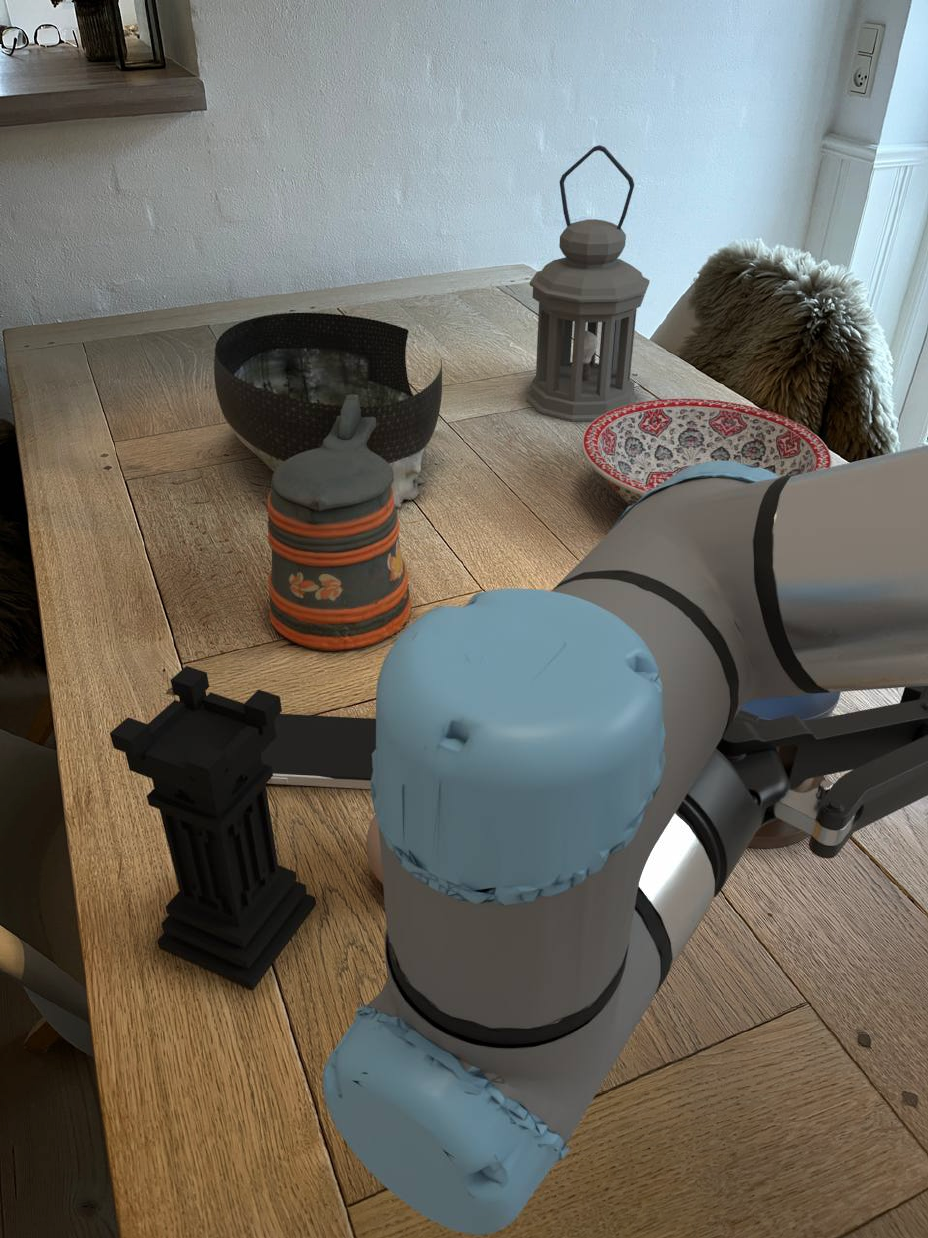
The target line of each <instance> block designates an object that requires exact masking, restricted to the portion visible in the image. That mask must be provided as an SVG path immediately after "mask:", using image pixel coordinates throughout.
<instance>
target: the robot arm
mask: <svg viewBox="0 0 928 1238" xmlns="http://www.w3.org/2000/svg"><path fill="white" fill-rule="evenodd" d="M898 688H899V689H900V688H904V689H903V692H902V694H901V698H900V701H899V702H897V703H894V704H889V705H888V704H887V705H883V706H878V707H872V708H868V709H862V710H857V711H852V712H846V713H841V714H836V715H832V716H831V717H826V718H820V719H815V720H810V721H805V722H803V721H801V720H800V718H799V717H797V716H789V717H783V718H778V719H773V720H768V721H763V722H758V721H759V717H758V716H756V715H753V714H751V713H748V712H745V711H742V710H740V709H741V708H742V706H743V705H744V704H745V703H746V702H749V701H752V700H756V699H765V698H778V697H794V696H803V695H809V694H815V693H831V692H841V693H844V692H857V691H859V692H860V691H872V690H885V689H898ZM375 692H376V693H375V719H376V749H375V751H374V752H373V753H372V767H373V773H372V778H371V782H370V785H371V789H370V796H371V800H372V807H373V813H374V815H375V814H376V819H377V824H378V827H379V839H380V850H381V862H382V875H383V884H382V886H383V899H384V900H383V901H384V912H385V914H384V915H385V928H386V929H385V934H384V935H385V936H384V937H385V938H384V955H385V966H386V969H385V970H386V980H385V983H384V985H383V986H382V988H381V991H379V992H378V994H377V995H376V996H375V997H374V998H373V999H372V1000H370V1002H369V1003H367V1004H364V1003H363V1004H362V1005H361V1006H360V1007H359V1009H357V1010H356V1012H355V1019H354V1020H353V1021H352V1023H351V1024H350V1026H349V1028H348V1029H347V1031H345V1033H344V1035H343V1036H342V1037H341V1039H340V1040H339V1042H338V1043H337V1045H336V1046H335V1048H333V1050H332V1051H331V1053H330V1054H329V1056H328V1058H327V1061H326V1063H325V1066H324V1067H323V1073H322V1093H323V1097H324V1102H325V1106H326V1108H327V1110H328V1113H329V1116H330V1118H331V1120H332V1122H333V1124H334V1125H335V1128H336V1129H337V1131H338V1132H339V1134H340V1136H341V1138H342V1139H343V1140H344V1142H345V1143H346V1145H347V1146H348V1147H349V1148H350V1150H351V1152H353V1154H354V1155H355V1156H356V1158H357V1159H358V1160H359V1162H361V1164H362V1165H363V1166H364V1167H365V1169H367V1170H368V1171H369V1172H370V1174H372V1176H374V1178H375V1179H376V1180H378V1182H380V1183H381V1185H383V1186H384V1187H385V1188H386V1189H387V1190H388V1191H389V1192H390V1193H392V1194H393V1195H394V1196H395V1197H397V1198H398V1199H400V1200H401V1201H403V1203H405V1204H406V1205H408V1206H409V1207H410V1208H411V1209H412V1210H414V1211H416V1212H417V1213H418V1214H419V1215H421V1216H423V1217H425V1218H426V1219H428V1220H430V1221H432V1222H434V1223H437V1225H438V1224H439V1225H440V1226H442V1227H445V1228H446V1229H449V1230H452V1231H454V1232H457V1233H461V1234H466V1235H474V1236H476V1235H477V1236H479V1235H490V1234H493V1233H497V1232H500V1231H501V1230H503V1229H505V1228H507V1227H508V1226H509V1225H511V1224H512V1223H513V1222H514V1221H515V1220H516V1219H517V1218H518V1216H519V1215H520V1213H521V1212H522V1210H523V1209H524V1207H525V1206H527V1203H528V1202H529V1200H530V1199H531V1197H532V1196H533V1195H534V1193H535V1192H536V1190H537V1189H538V1188H539V1186H540V1185H541V1184H542V1182H543V1181H544V1180H545V1178H546V1177H547V1176H548V1175H549V1173H550V1171H551V1170H552V1168H554V1166H555V1165H556V1164H557V1162H559V1161H563V1160H564V1159H565V1158H566V1156H567V1154H568V1152H569V1151H570V1149H571V1148H570V1147H569V1145H568V1143H569V1141H570V1140H571V1138H572V1136H573V1134H574V1133H575V1131H576V1129H577V1127H578V1126H579V1125H580V1122H581V1121H582V1119H583V1118H584V1116H585V1114H586V1112H587V1110H588V1109H589V1107H590V1105H591V1103H592V1102H593V1100H594V1098H596V1095H597V1093H598V1092H599V1090H600V1089H601V1087H602V1086H603V1084H604V1082H605V1080H606V1078H607V1077H608V1075H609V1073H610V1071H611V1070H612V1068H613V1067H614V1065H615V1064H616V1062H617V1060H618V1059H619V1057H620V1055H621V1053H622V1051H623V1050H624V1048H625V1047H626V1045H627V1043H628V1042H629V1040H630V1038H631V1036H632V1035H633V1033H634V1032H635V1030H636V1028H637V1027H638V1026H639V1023H640V1021H641V1020H642V1018H643V1016H644V1015H645V1013H646V1011H647V1010H648V1008H649V1007H650V1005H651V1004H652V1002H653V1000H654V999H655V996H656V994H657V993H658V992H659V990H660V989H661V987H662V985H663V984H664V982H665V980H666V978H667V977H668V975H669V973H670V972H671V970H672V968H673V967H674V965H675V964H676V962H677V961H678V959H679V958H680V956H681V954H682V952H683V951H684V949H685V948H686V946H687V945H688V943H689V942H690V940H691V939H692V938H693V936H694V934H695V932H696V931H697V929H698V927H700V925H701V923H702V921H703V920H704V918H705V916H706V915H707V913H708V912H709V910H710V908H711V906H712V903H713V900H714V899H715V898H716V897H717V896H718V895H719V894H720V892H721V891H722V889H723V888H724V886H725V884H726V883H727V881H728V879H729V878H730V876H731V875H732V873H733V871H734V869H735V868H736V867H737V865H738V863H739V861H740V860H741V858H742V857H743V854H744V853H745V852H746V850H747V848H749V847H748V845H749V843H750V842H751V840H752V838H753V837H754V835H755V833H756V832H757V830H758V829H759V828H761V827H762V826H763V825H765V824H767V823H770V822H772V821H775V820H776V819H778V818H779V819H781V820H783V821H784V822H786V823H788V824H790V825H792V826H794V827H796V828H798V829H800V830H802V831H804V832H805V833H807V834H809V842H808V848H809V850H810V851H811V853H812V854H813V855H815V856H817V857H819V858H822V859H828V860H829V859H832V858H835V857H836V856H837V855H838V854H840V852H841V851H842V849H843V848H844V846H845V845H846V844H847V842H848V841H849V840H850V838H851V837H852V836H853V834H854V833H855V832H857V831H859V830H862V829H864V828H865V827H868V826H869V825H871V824H873V823H876V822H877V821H880V820H881V819H883V818H885V817H888V816H889V815H891V814H893V813H895V812H897V811H899V810H902V809H903V808H905V807H907V806H910V805H911V804H914V803H915V802H917V801H919V800H921V799H923V798H926V797H927V796H928V444H926V445H922V446H917V447H913V448H908V449H904V450H899V451H895V452H890V453H885V454H882V455H878V456H873V457H868V458H865V459H861V460H856V461H851V462H847V463H843V464H839V465H834V466H832V467H829V468H825V469H820V470H816V471H812V472H807V473H799V474H794V475H789V476H784V477H779V476H777V475H776V474H774V473H772V472H770V471H768V470H766V469H763V468H757V467H754V466H750V465H747V464H743V463H737V462H732V461H721V460H718V461H711V462H705V463H701V464H697V465H693V466H691V467H688V468H686V469H684V470H682V471H680V472H678V473H676V474H675V475H673V476H671V477H670V478H669V479H667V480H666V481H665V482H664V483H662V484H661V485H660V486H658V487H656V488H654V489H652V490H650V491H648V492H646V493H645V494H644V495H643V496H642V497H641V498H640V499H639V500H638V501H637V502H636V503H635V504H633V505H629V506H627V508H626V509H625V510H624V512H622V514H621V515H620V517H619V518H618V519H617V520H616V522H615V523H614V524H613V525H612V527H611V529H610V531H609V532H608V533H607V534H606V535H605V536H604V537H603V538H602V539H601V540H600V541H599V542H598V543H597V544H596V545H595V546H594V547H593V548H592V549H591V550H590V551H589V552H588V553H587V554H586V555H585V557H583V559H581V560H580V561H579V562H578V563H577V564H576V565H575V566H574V567H573V568H572V570H570V571H569V572H568V573H567V575H565V577H563V579H561V580H560V582H558V584H556V585H555V587H553V589H551V590H545V589H533V588H519V587H518V588H517V587H516V588H514V587H513V588H499V589H492V590H491V589H490V590H487V591H481V592H477V593H476V594H473V595H472V597H471V598H470V600H469V601H468V602H467V603H465V605H462V606H453V605H443V606H442V605H440V606H436V607H435V608H432V609H430V610H429V611H427V612H425V613H424V614H422V615H421V616H420V617H418V618H417V619H416V620H414V621H413V622H412V623H411V624H410V625H408V626H407V627H406V629H405V630H404V631H402V633H401V634H400V635H399V636H398V637H397V639H396V640H395V641H394V643H393V644H392V646H391V649H389V651H388V652H387V654H386V656H385V658H384V659H383V662H382V665H381V668H380V671H379V674H378V678H377V684H376V690H375ZM776 747H779V751H778V752H777V749H776ZM844 772H846V773H844ZM838 773H839V774H840V773H844V774H843V775H842V776H840V778H838V779H837V780H836V782H834V783H833V781H830V780H829V779H825V780H823V781H821V782H820V784H819V787H817V788H813V789H812V790H810V791H808V792H796V791H793V789H796V788H797V787H799V786H800V785H801V784H802V783H803V782H804V781H805V780H807V779H810V778H815V777H820V776H824V777H826V776H830V775H833V774H838Z"/></svg>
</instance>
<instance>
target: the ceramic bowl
mask: <svg viewBox="0 0 928 1238" xmlns="http://www.w3.org/2000/svg"><path fill="white" fill-rule="evenodd" d="M581 451H582V454H583V456H584V458H585V460H586V462H587V463H588V465H589V466H590V467H591V468H592V469H593V470H594V471H595V472H596V473H597V474H599V475H600V476H601V477H603V478H604V479H605V480H606V482H607V483H608V485H609V486H610V487H611V488H612V489H613V491H614V492H615V493H616V494H617V495H619V497H621V499H623V500H624V501H625V502H626V503H628V504H629V506H631V505H633V504H635V503H636V502H637V501H638V500H639V499H640V498H641V497H642V496H643V495H644V494H645V493H646V492H648V491H650V490H652V489H654V488H656V487H658V486H660V485H661V484H662V483H664V482H665V481H666V480H667V479H669V478H670V477H671V476H673V475H675V474H676V473H678V472H680V471H682V470H684V469H686V468H688V467H691V466H693V465H697V464H701V463H705V462H711V461H718V460H721V461H732V462H737V463H743V464H747V465H750V466H754V467H757V468H763V469H766V470H768V471H770V472H772V473H774V474H776V475H777V476H779V477H784V476H789V475H794V474H799V473H807V472H812V471H816V470H820V469H825V468H829V467H833V457H832V453H831V452H830V449H829V448H828V445H827V444H825V442H824V441H823V440H822V439H821V438H820V437H819V436H818V435H817V434H816V433H814V432H813V431H811V430H810V429H808V428H807V427H805V426H804V425H802V424H800V423H798V422H796V421H794V420H792V419H790V418H787V417H785V416H782V415H780V414H778V413H775V412H772V411H769V410H765V409H762V408H759V407H755V406H754V407H753V406H750V405H745V404H741V403H736V402H730V401H725V400H715V399H703V398H665V399H663V398H662V399H654V400H646V401H639V402H635V404H630V405H627V406H623V407H620V408H617V409H614V410H612V411H609V412H607V413H605V414H603V415H602V416H600V417H598V418H597V419H595V420H594V421H591V422H590V423H589V425H588V426H587V427H586V429H585V431H583V434H582V438H581Z"/></svg>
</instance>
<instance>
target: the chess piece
mask: <svg viewBox="0 0 928 1238" xmlns="http://www.w3.org/2000/svg"><path fill="white" fill-rule="evenodd" d="M208 678H209V677H208V673H207V671H203V670H200V669H197V668H194V667H192V666H188V665H186V666H185V667H184V668H182V669H181V670H180V671H179V672H177V674H175V675H174V676H173V677H172V678H171V679H170V684H171V689H172V693H173V695H174V696H176V697H178V699H179V700H176V699H174V700H173V701H171V702H170V703H169V704H168V705H167V706H166V707H165V708H164V709H163V710H162V711H160V712H159V713H158V714H157V715H156V716H154V718H153V719H152V720H151V721H149V722H148V723H146V722H142V721H140V720H137V719H134V718H131V717H126V718H125V719H124V720H122V721H121V722H120V723H119V724H118V725H117V726H116V727H115V728H113V729H112V730H111V731H110V732H109V736H110V740H111V743H112V747H113V749H115V750H116V751H117V750H118V751H120V752H123V753H125V754H124V755H125V757H126V761H127V764H128V769H129V771H131V772H133V773H135V774H138V775H141V776H143V777H146V778H149V779H151V781H152V785H153V789H152V790H151V791H150V792H149V793H148V794H147V795H146V801H147V804H148V806H149V807H153V808H155V809H157V810H159V814H160V817H161V821H162V826H163V830H164V833H165V837H166V838H165V839H166V842H167V847H168V850H169V854H170V858H171V862H172V867H173V870H174V873H175V874H174V875H175V879H176V882H177V886H178V887H177V888H178V891H177V892H176V894H175V895H174V896H173V897H172V898H171V900H170V901H169V902H168V903H167V904H166V905H165V910H166V914H167V916H166V918H165V919H164V920H163V921H162V922H161V923H160V925H161V928H162V932H163V933H162V934H161V935H160V936H159V937H158V938H157V940H156V944H157V946H158V949H161V950H162V951H165V952H167V953H169V954H172V955H173V956H175V957H178V958H179V959H182V960H184V961H187V962H189V963H191V964H193V965H195V966H198V967H200V968H202V969H204V970H207V971H208V972H210V973H213V974H215V975H217V976H220V977H222V978H224V979H226V980H229V981H230V982H233V983H236V984H237V985H238V986H239V985H240V986H242V987H244V988H246V989H249V990H250V991H254V989H255V988H256V987H257V985H258V984H259V983H260V981H261V980H262V978H264V976H265V975H266V973H267V972H268V971H269V969H270V968H271V967H272V965H274V963H275V961H276V960H277V958H278V957H279V956H280V955H281V953H282V951H283V950H284V949H285V948H286V946H287V945H288V943H289V942H290V941H291V940H292V938H293V937H294V935H295V934H296V933H297V931H298V930H299V929H300V927H301V926H302V925H303V923H304V922H305V920H306V919H307V918H308V916H309V915H310V914H311V912H312V911H313V910H314V908H315V907H316V906H317V899H316V897H315V896H313V895H311V894H308V893H307V885H306V884H304V883H302V882H299V881H298V878H297V872H296V871H294V870H292V869H289V868H287V867H284V866H282V865H279V861H278V854H277V850H276V849H277V848H276V843H275V836H274V829H273V824H272V823H273V822H272V816H271V810H270V804H269V798H268V792H267V791H268V790H267V786H266V785H267V784H268V783H267V782H268V781H269V780H270V779H271V777H272V776H273V772H272V767H271V766H268V765H265V764H263V763H262V759H261V753H262V752H263V751H264V750H265V749H266V748H267V747H268V746H269V745H270V743H271V742H272V741H273V740H274V739H275V738H276V731H275V724H274V719H275V718H276V717H277V716H278V715H279V714H282V712H283V709H282V708H283V707H282V702H281V696H280V695H277V694H274V693H271V692H268V691H264V690H262V689H258V690H256V691H255V692H254V693H253V694H252V695H251V696H250V697H249V698H248V699H247V700H246V701H245V702H240V701H238V700H235V699H232V698H229V697H226V696H223V695H220V694H217V693H214V692H212V691H211V692H209V693H208V694H207V690H208V689H209V688H210V682H209V679H208Z"/></svg>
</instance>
